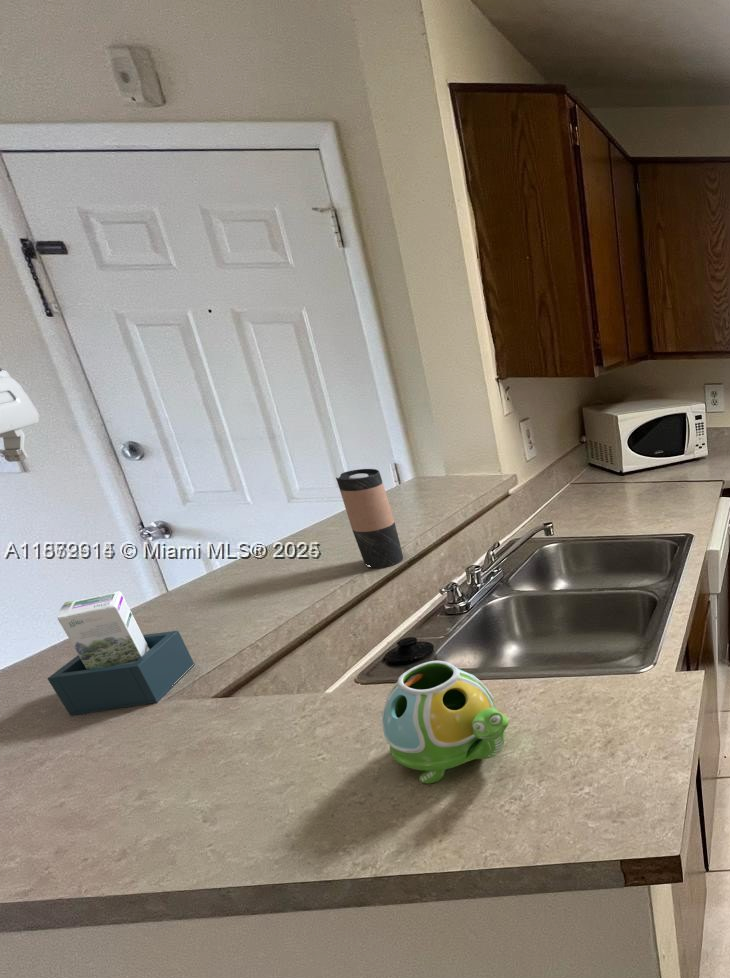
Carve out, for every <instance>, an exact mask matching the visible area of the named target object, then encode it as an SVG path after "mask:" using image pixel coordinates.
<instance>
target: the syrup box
mask: <svg viewBox="0 0 730 978" xmlns="http://www.w3.org/2000/svg"><path fill="white" fill-rule="evenodd" d="M56 618H57V620H58V622H59V624H60V626H61V627H62V629H63V631H64V633H65V634H66V636H67V638H68V640H69V641H70V643H71V644H72V646H73V648H74V650H75V652H76V653H77V656H78V655H79V657H80V658H81V660H82V662H83V664H84V665H85V667H86V669H87V670H89V669H96V668H104V667H111V666H119V665H126V664H134V663H135V662H136V661H137V660H138V659H139V658H141V657H142V656H143V655H144V654H145V653H146V652H148V651H149V650H150V649H149V647H148V645H147V643H146V641H145V639H144V637H143V635H144V634H143V633H142V631H141V629H140V627H139V625H138V623H137V621H136V619H135V617H134V615H133V613H132V610H131V608H130V606H129V605H128V602H127V601H126V599H125V597H124V594H123V593H122V592H121V591H119V590H118V591H114V592H108V593H103V594H100V595H94V596H90V597H85V598H80V599H75V600H71V601H65V602H64V603H63V604H62V605H61V607H60V609H59V611H58V613H57V617H56Z"/></svg>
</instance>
